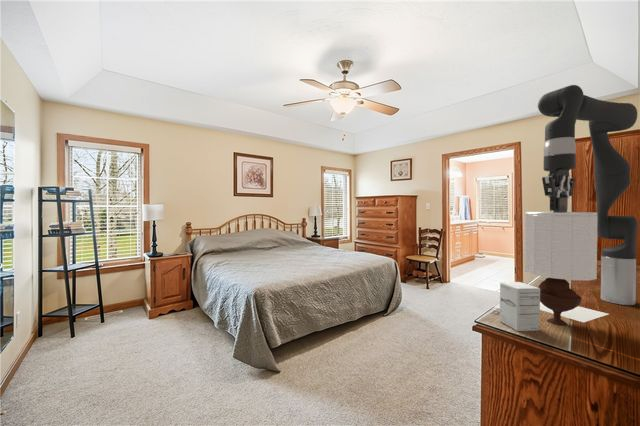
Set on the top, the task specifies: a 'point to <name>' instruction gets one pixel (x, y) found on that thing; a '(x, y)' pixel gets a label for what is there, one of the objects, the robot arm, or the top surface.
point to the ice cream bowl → (558, 298)
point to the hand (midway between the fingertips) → (558, 210)
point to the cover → (561, 244)
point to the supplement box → (520, 306)
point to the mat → (577, 313)
